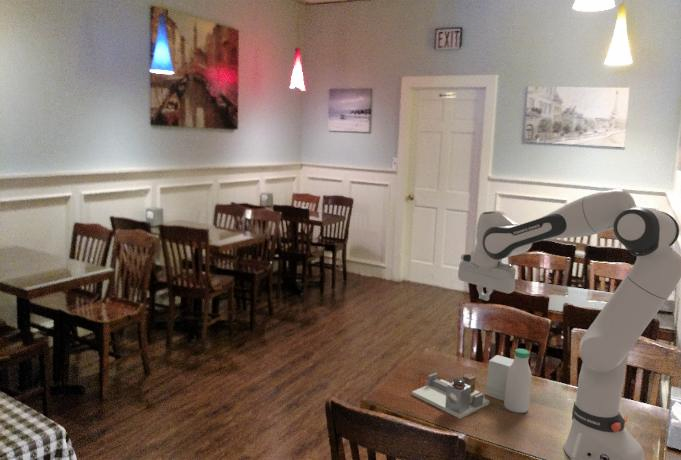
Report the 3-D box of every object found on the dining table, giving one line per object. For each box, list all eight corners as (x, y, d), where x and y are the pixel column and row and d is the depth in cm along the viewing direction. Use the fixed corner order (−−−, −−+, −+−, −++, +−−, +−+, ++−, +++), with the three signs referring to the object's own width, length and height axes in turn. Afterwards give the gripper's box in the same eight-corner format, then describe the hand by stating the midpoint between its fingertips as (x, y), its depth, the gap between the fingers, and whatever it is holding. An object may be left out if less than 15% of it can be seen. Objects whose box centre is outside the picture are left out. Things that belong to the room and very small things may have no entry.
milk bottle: (529, 415, 179) (536, 356, 176) (504, 411, 181) (511, 353, 177) (526, 404, 187) (533, 347, 183) (503, 400, 188) (508, 345, 185)
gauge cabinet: (468, 412, 180) (471, 386, 178) (458, 417, 176) (460, 391, 174) (455, 405, 184) (457, 380, 182) (444, 410, 180) (446, 384, 178)
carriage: (479, 400, 184) (481, 377, 183) (470, 405, 181) (472, 381, 180) (464, 394, 189) (466, 371, 187) (455, 398, 186) (457, 375, 184)
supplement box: (505, 401, 188) (509, 366, 186) (484, 394, 192) (488, 360, 190) (513, 394, 194) (517, 359, 192) (493, 387, 198) (496, 354, 196)
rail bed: (489, 404, 186) (490, 390, 185) (460, 418, 175) (461, 404, 174) (441, 382, 200) (442, 369, 200) (412, 394, 190) (413, 381, 189)
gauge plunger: (465, 404, 179) (467, 381, 178) (458, 407, 177) (460, 384, 175) (456, 400, 182) (458, 377, 180) (449, 403, 179) (451, 380, 178)
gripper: (521, 264, 178) (516, 306, 181) (468, 252, 193) (464, 290, 196) (510, 267, 174) (506, 309, 176) (457, 254, 189) (453, 293, 191)
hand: (483, 299), depth 186 cm, fingers closed
